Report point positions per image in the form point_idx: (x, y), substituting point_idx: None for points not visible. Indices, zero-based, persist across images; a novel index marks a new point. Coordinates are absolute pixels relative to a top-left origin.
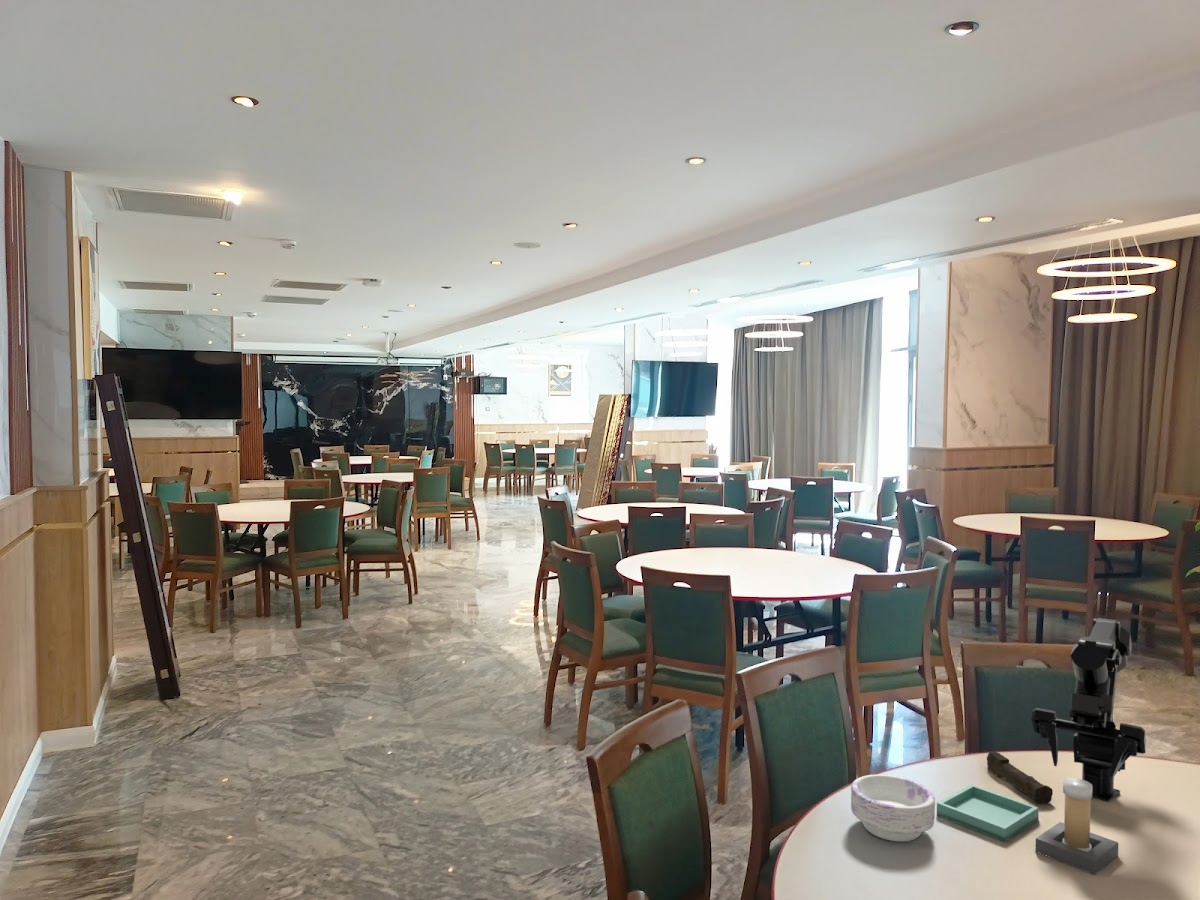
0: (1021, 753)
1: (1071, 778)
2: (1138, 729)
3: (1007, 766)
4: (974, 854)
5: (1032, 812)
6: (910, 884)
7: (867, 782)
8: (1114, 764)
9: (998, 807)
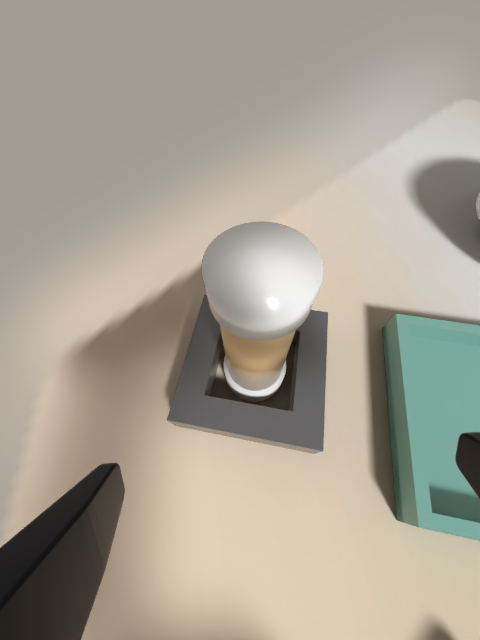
0: None
1: (301, 295)
2: None
3: None
4: (389, 255)
5: (411, 473)
6: (393, 155)
7: None
8: (31, 538)
9: None
